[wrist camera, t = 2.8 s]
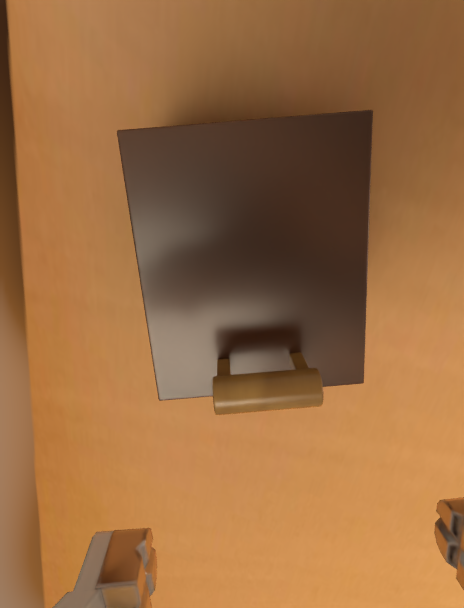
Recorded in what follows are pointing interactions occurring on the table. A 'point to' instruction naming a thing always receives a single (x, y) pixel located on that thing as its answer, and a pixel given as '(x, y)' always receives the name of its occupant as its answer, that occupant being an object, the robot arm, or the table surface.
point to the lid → (253, 255)
